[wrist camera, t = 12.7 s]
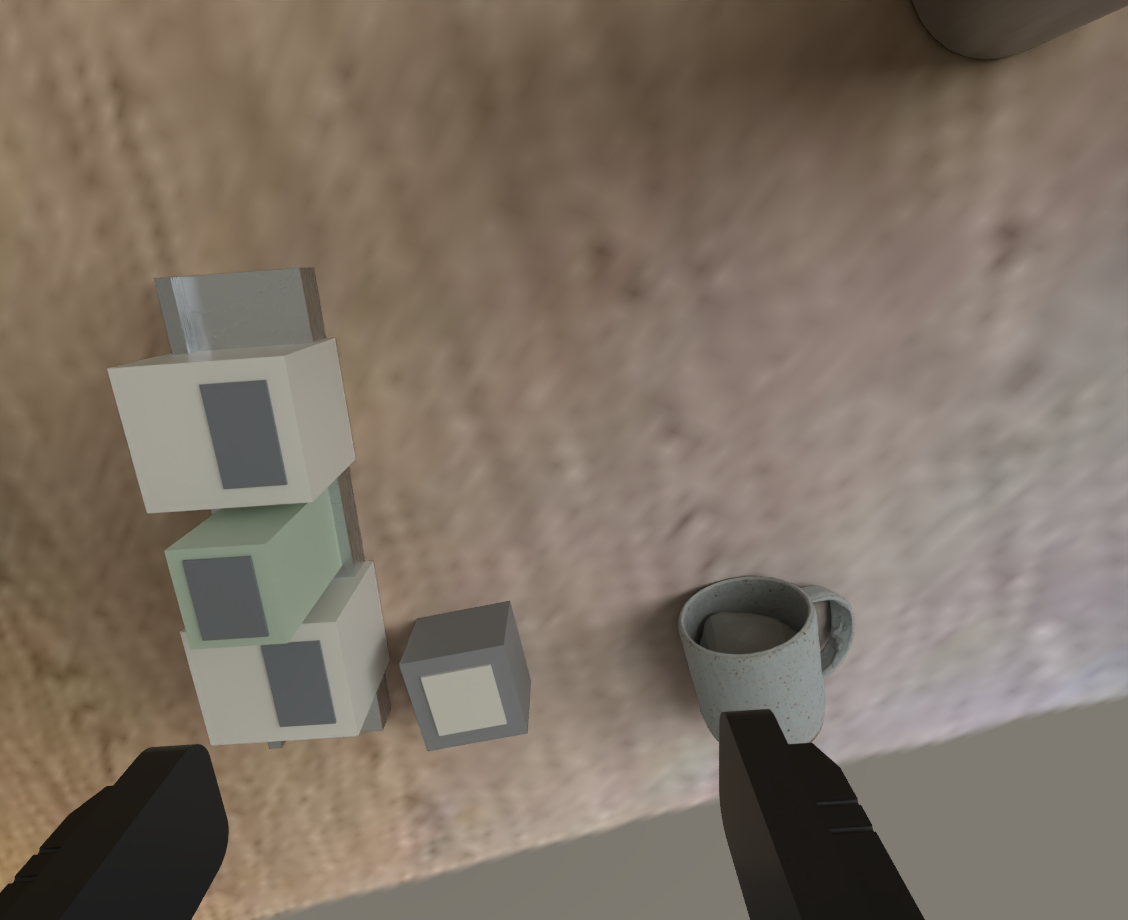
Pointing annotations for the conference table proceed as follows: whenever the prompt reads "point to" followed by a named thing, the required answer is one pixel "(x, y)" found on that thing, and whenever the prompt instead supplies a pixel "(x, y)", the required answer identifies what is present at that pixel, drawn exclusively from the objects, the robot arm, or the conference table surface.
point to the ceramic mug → (763, 650)
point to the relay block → (467, 676)
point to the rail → (255, 319)
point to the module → (254, 572)
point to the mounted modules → (256, 478)
